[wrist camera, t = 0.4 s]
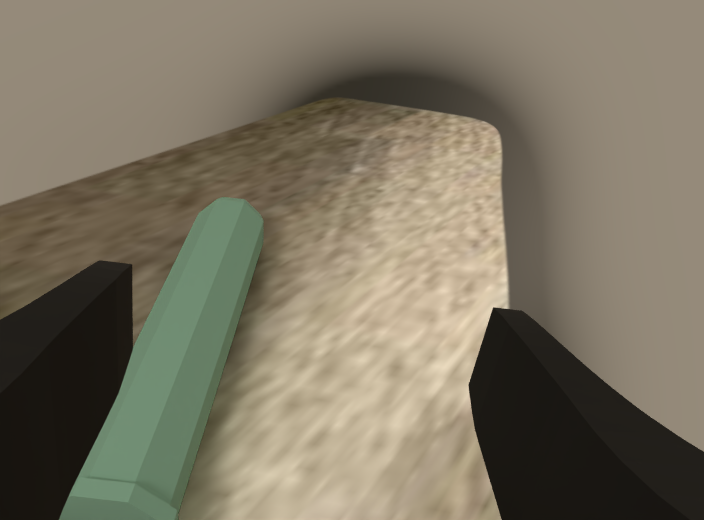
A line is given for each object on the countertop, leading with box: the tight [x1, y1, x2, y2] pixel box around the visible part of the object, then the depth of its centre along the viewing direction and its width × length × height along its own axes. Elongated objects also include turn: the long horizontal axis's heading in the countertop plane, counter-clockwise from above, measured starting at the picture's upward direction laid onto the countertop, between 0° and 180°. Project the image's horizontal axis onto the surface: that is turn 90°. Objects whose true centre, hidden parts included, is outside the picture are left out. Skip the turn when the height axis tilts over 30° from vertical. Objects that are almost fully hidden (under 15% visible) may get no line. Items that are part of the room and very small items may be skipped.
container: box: [59, 197, 263, 520], centre depth 37 cm, size 6×6×25 cm
